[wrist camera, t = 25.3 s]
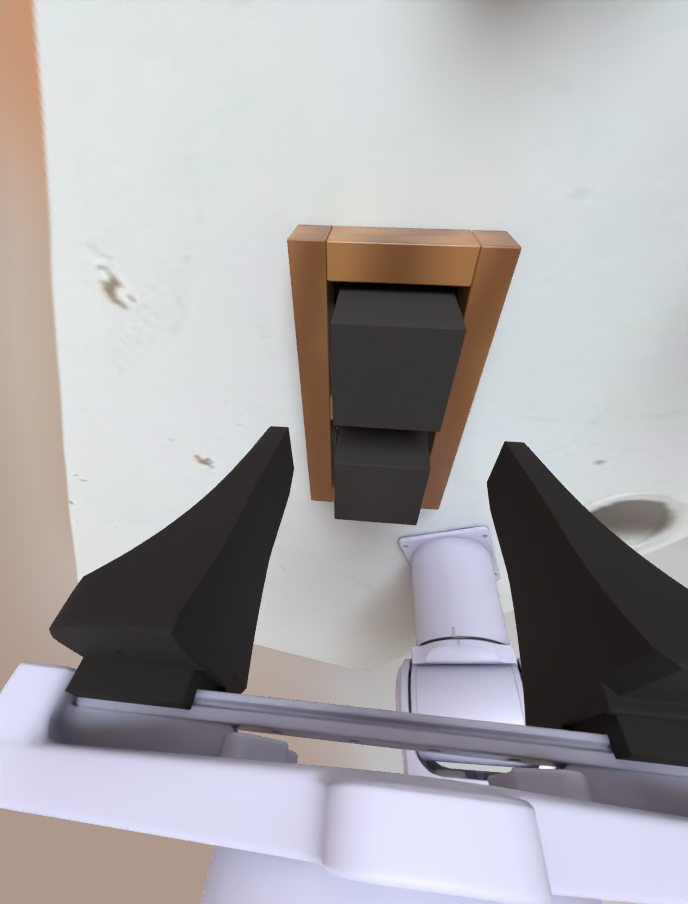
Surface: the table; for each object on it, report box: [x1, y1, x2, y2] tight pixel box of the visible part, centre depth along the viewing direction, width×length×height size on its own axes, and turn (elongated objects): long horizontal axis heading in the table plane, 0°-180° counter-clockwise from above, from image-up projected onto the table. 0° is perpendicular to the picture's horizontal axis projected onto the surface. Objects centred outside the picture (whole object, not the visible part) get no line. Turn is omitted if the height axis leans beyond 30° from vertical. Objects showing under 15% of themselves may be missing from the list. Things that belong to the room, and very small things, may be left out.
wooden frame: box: [287, 225, 521, 509], centre depth 21 cm, size 9×17×2 cm, turn 179°
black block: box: [331, 282, 467, 432], centre depth 17 cm, size 5×5×6 cm
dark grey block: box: [334, 426, 431, 525], centre depth 23 cm, size 5×5×6 cm
